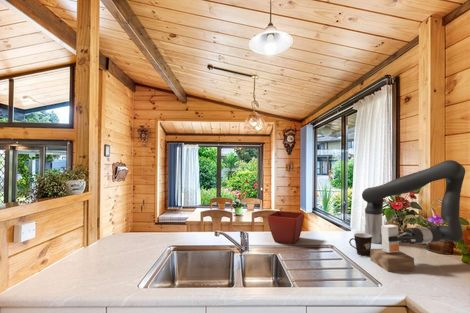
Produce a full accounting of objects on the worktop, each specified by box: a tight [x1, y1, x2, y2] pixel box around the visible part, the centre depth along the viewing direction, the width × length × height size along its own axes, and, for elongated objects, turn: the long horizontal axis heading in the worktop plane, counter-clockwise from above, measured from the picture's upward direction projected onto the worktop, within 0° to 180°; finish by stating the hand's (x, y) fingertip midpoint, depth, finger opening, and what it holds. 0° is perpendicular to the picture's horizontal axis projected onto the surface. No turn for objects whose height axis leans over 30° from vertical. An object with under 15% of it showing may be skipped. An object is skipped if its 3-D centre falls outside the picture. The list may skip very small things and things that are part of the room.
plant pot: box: [266, 210, 305, 245], centre depth 167 cm, size 19×19×17 cm
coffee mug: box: [348, 232, 372, 257], centre depth 140 cm, size 12×9×10 cm
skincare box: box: [381, 224, 400, 253], centre depth 124 cm, size 6×4×12 cm
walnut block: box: [370, 248, 415, 273], centre depth 123 cm, size 14×12×6 cm
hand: (385, 237), depth 123 cm, fingers closed on skincare box, 4 cm apart
